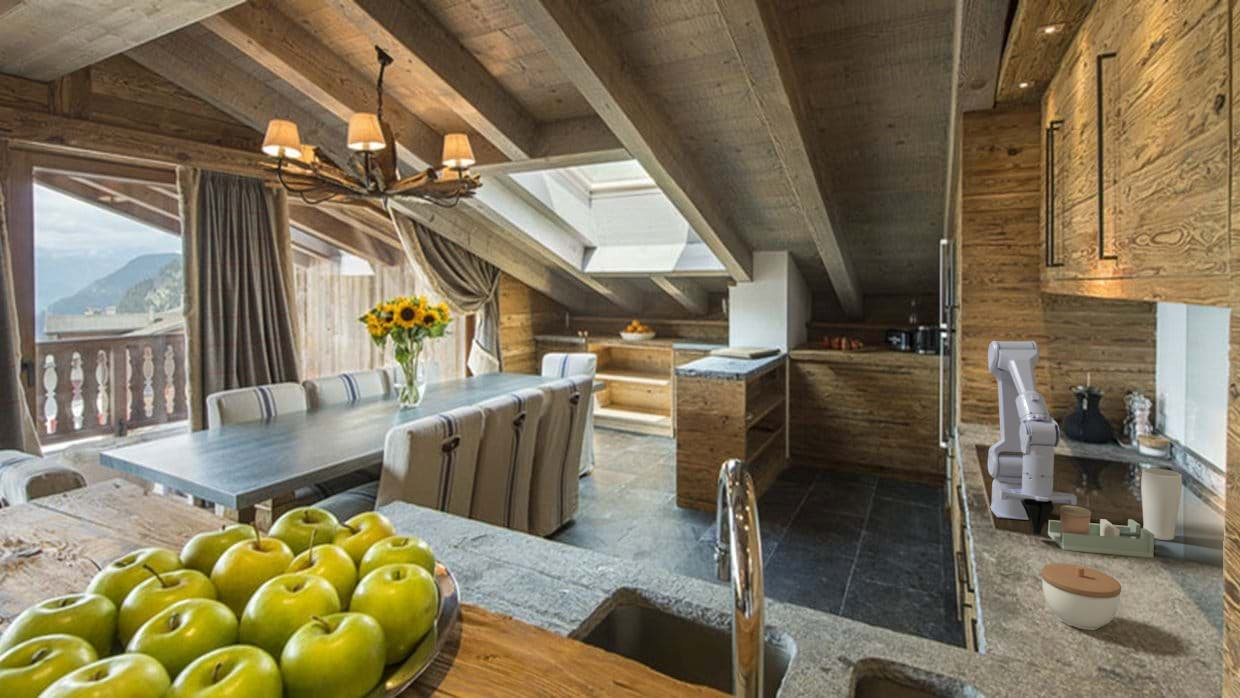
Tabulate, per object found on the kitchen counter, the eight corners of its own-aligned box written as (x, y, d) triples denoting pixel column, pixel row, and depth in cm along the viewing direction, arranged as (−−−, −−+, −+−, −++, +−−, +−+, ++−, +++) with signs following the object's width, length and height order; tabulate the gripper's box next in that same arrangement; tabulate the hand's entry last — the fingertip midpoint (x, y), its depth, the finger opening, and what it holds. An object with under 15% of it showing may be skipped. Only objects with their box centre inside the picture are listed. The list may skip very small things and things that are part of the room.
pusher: (1099, 534, 134) (1100, 518, 134) (1142, 538, 132) (1143, 522, 132) (1113, 546, 128) (1114, 529, 128) (1158, 550, 126) (1159, 533, 126)
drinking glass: (1180, 545, 131) (1184, 478, 130) (1140, 538, 135) (1143, 473, 134) (1176, 535, 137) (1180, 471, 135) (1137, 528, 141) (1140, 466, 139)
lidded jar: (1042, 598, 109) (1044, 549, 109) (1118, 617, 103) (1121, 564, 102) (1037, 624, 101) (1039, 570, 100) (1119, 645, 94) (1122, 588, 94)
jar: (1055, 533, 136) (1056, 504, 136) (1082, 535, 135) (1084, 506, 134) (1065, 542, 131) (1066, 512, 131) (1094, 545, 130) (1095, 514, 129)
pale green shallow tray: (1047, 534, 139) (1048, 513, 138) (1131, 541, 134) (1132, 519, 133) (1063, 549, 130) (1064, 527, 130) (1153, 557, 125) (1154, 534, 125)
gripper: (1006, 476, 133) (1004, 535, 134) (1083, 481, 128) (1081, 542, 129) (996, 467, 139) (995, 524, 140) (1070, 472, 135) (1067, 530, 136)
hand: (1035, 532), depth 135 cm, fingers closed
